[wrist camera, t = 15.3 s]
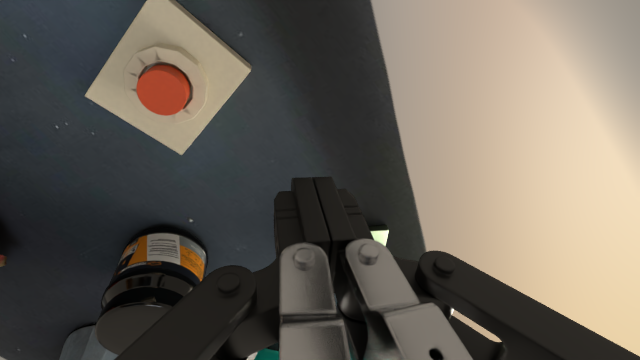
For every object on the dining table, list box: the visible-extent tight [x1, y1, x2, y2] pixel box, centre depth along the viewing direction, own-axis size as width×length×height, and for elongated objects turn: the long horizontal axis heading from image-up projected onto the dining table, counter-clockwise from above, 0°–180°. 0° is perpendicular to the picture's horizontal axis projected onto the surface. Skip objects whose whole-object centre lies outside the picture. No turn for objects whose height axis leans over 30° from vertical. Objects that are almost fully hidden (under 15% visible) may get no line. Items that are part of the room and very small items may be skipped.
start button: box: [136, 65, 190, 116], centre depth 29 cm, size 4×4×2 cm
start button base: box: [85, 0, 251, 155], centre depth 31 cm, size 12×10×4 cm
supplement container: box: [95, 227, 208, 355], centre depth 39 cm, size 10×10×12 cm
